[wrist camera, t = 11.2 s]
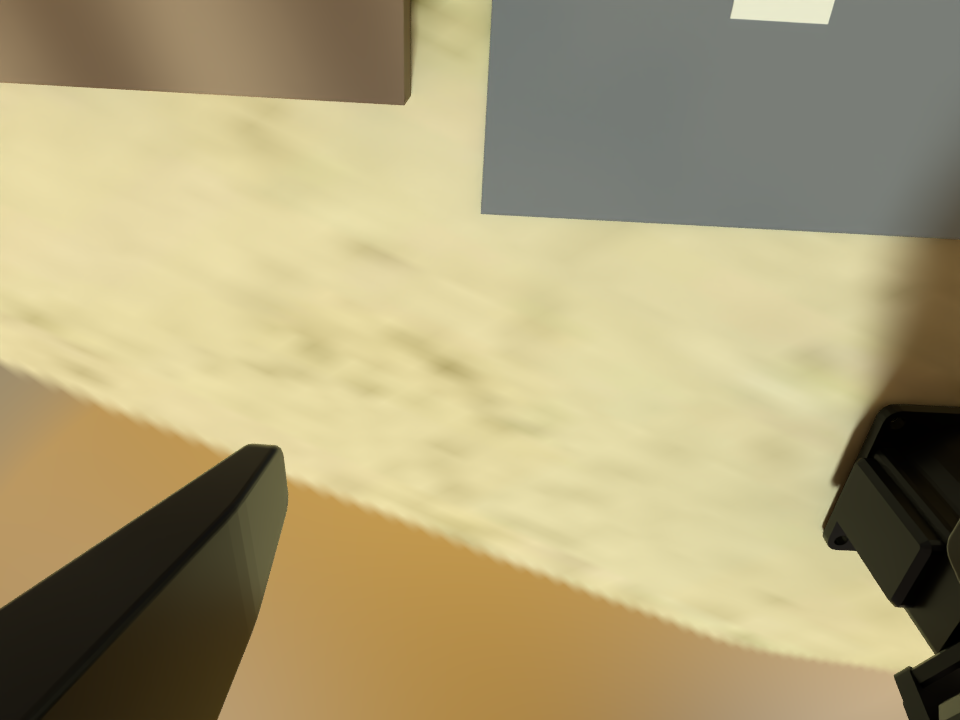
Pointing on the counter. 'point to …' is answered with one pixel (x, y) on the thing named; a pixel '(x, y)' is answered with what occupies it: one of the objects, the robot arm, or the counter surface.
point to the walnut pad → (213, 47)
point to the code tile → (727, 113)
